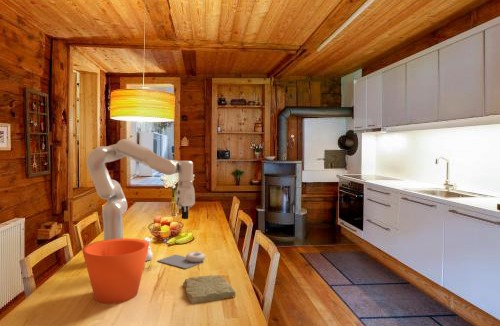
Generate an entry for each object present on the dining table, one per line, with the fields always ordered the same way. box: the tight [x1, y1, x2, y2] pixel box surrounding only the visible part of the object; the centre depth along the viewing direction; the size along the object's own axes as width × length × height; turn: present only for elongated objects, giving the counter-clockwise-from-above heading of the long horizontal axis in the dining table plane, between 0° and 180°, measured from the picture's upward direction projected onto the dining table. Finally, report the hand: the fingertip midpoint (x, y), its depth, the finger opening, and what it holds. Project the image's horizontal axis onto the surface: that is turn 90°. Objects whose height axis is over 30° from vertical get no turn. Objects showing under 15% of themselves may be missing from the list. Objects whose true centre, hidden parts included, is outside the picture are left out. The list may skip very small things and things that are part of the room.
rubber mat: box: [157, 254, 204, 270], centre depth 184 cm, size 13×20×1 cm, turn 57°
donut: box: [185, 251, 206, 262], centre depth 185 cm, size 10×4×10 cm
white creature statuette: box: [142, 236, 154, 262], centre depth 187 cm, size 10×9×12 cm
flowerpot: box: [81, 237, 150, 305], centre depth 141 cm, size 25×25×20 cm
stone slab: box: [182, 274, 236, 305], centre depth 147 cm, size 19×20×4 cm
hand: (184, 218), depth 186 cm, fingers closed
